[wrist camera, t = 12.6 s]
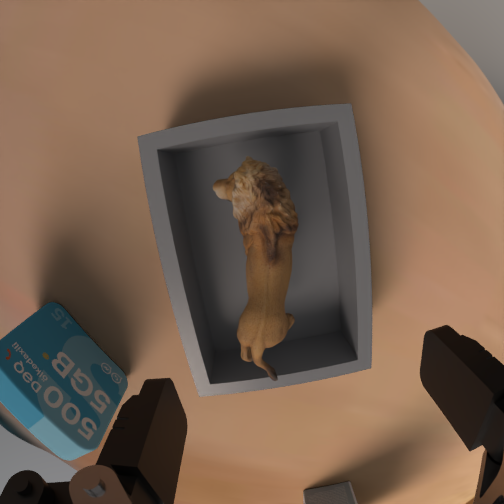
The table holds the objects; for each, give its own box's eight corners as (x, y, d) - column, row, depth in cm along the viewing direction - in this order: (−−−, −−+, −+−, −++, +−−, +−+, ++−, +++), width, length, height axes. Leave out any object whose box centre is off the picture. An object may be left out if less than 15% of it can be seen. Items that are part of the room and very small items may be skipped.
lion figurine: (226, 208, 27) (204, 153, 18) (287, 200, 27) (290, 141, 18) (244, 383, 23) (225, 409, 15) (311, 375, 23) (329, 398, 14)
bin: (160, 144, 25) (137, 136, 19) (328, 117, 24) (351, 103, 19) (206, 358, 30) (199, 396, 24) (350, 335, 29) (371, 368, 23)
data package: (132, 378, 30) (94, 457, 19) (109, 394, 31) (71, 467, 19) (55, 296, 28) (-14, 350, 16) (37, 318, 28) (-26, 372, 17)
